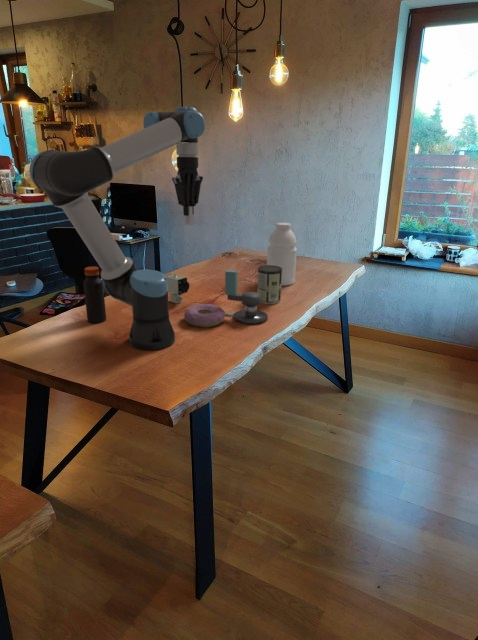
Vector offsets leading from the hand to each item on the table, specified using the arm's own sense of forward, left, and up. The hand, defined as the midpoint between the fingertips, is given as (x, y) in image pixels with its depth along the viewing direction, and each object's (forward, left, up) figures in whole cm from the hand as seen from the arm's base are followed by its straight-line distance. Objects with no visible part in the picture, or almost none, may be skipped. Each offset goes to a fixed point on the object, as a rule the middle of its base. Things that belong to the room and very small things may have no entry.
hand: (188, 224), depth 167 cm
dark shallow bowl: (+4, -22, -34) cm, 41 cm away
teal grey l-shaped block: (+4, -21, -28) cm, 35 cm away
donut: (-6, -9, -35) cm, 37 cm away
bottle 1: (-23, +27, -35) cm, 50 cm away
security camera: (+8, +11, -35) cm, 37 cm away
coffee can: (+27, -23, -35) cm, 50 cm away
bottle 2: (+55, -19, -35) cm, 68 cm away
